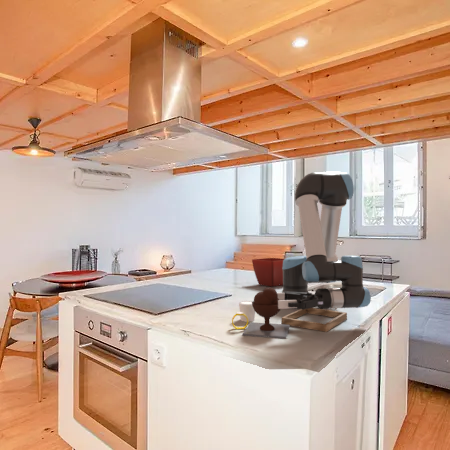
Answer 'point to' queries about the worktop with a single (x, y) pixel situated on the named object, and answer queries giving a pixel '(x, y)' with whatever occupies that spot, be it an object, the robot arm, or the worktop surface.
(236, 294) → the worktop surface
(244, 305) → the white cup
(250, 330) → the plate
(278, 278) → the plant pot
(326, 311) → the wooden picture frame
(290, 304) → the robot arm
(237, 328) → the watch
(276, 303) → the ice cream bowl
